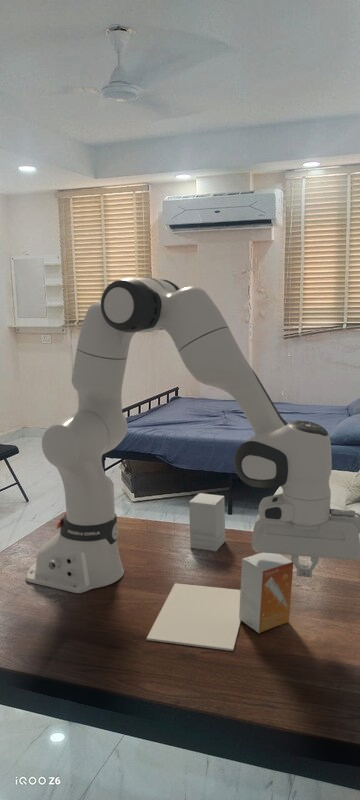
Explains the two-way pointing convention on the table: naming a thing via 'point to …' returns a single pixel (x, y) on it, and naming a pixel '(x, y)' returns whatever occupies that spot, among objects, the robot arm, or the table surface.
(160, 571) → the table surface
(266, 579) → the small box
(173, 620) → the mat
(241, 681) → the table surface
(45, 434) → the robot arm
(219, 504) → the supplement box
